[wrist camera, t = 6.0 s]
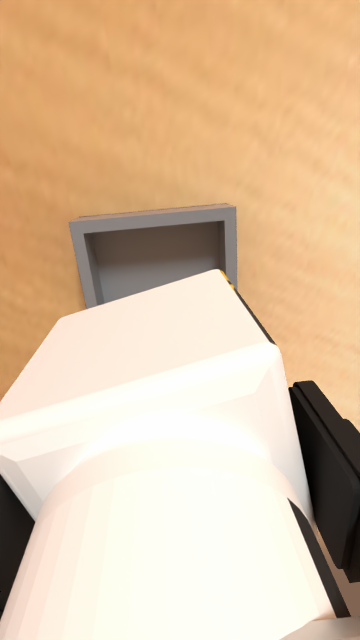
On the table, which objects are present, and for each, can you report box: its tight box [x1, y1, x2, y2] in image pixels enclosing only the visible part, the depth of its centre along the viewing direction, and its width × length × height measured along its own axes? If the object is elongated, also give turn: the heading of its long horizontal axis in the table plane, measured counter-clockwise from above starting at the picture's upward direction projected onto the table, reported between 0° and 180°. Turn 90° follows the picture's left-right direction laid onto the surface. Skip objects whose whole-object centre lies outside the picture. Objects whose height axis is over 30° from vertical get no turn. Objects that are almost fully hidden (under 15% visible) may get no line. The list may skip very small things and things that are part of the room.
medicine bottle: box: [0, 269, 351, 640], centre depth 9 cm, size 7×7×12 cm
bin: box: [69, 203, 237, 309], centre depth 25 cm, size 11×11×4 cm
